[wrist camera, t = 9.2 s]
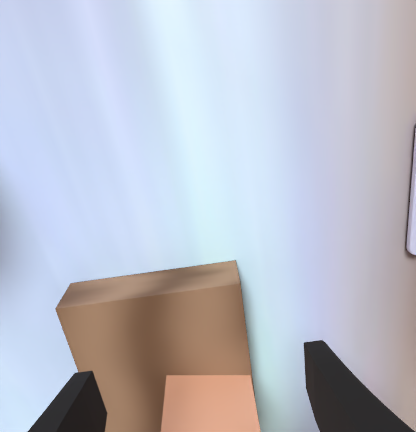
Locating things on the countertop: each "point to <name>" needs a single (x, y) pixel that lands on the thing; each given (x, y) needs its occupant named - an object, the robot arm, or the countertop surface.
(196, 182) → the countertop surface
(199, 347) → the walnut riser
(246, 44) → the countertop surface
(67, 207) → the countertop surface
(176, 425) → the terracotta cube
